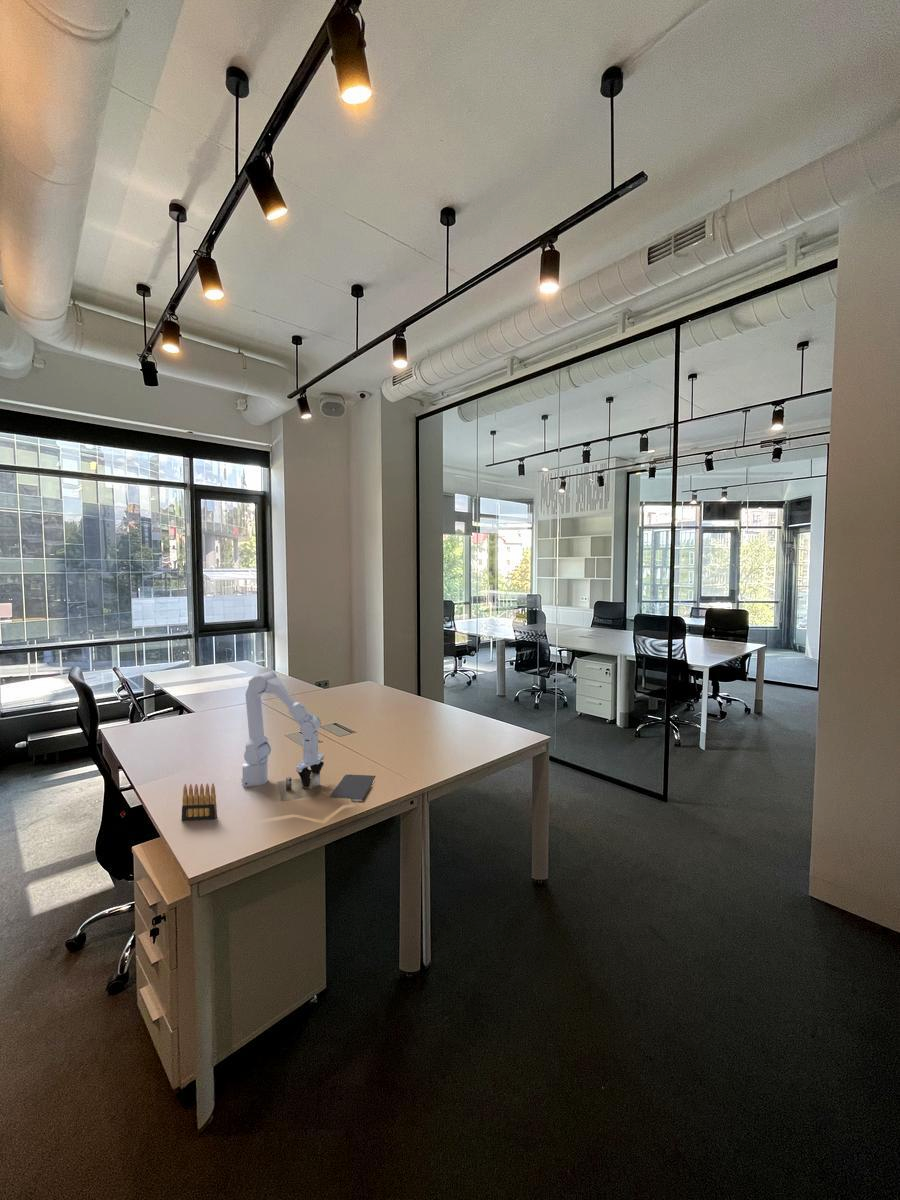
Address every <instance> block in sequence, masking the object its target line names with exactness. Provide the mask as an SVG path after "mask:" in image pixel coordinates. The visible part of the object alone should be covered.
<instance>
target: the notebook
mask: <svg viewBox="0 0 900 1200" xmlns="http://www.w3.org/2000/svg"><path fill="white" fill-rule="evenodd" d="M376 777H377V775H369V774H368V775H367V774H366V775H364V774H345V775H344V776H343V777H342V779H340V782H339V783H338V784H337V786H335V788H334V789H333V791H332V792H331V794H330V795H329V798H332V799H349V800H351V802H358V801H362V802H364V800H365V798H366V797H365V796H367V795H366V794H368V793H369V791H370V790H369V789H371V788H372V786H373V784H374V783H373V781H375V779H376ZM372 783H373V784H372ZM371 785H372V786H371ZM370 787H371V788H370ZM368 790H369V791H368ZM367 792H368V793H367Z"/></svg>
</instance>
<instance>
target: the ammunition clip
mask: <svg viewBox="0 0 900 1200" xmlns="http://www.w3.org/2000/svg"><path fill="white" fill-rule="evenodd" d="M216 799H217V795H216V787H215V784H214V783H213V782H212V784H211V788H210V786H209V783H206V785H205V788H204V784H203V783H201V784H200V787H199V786H198V783H196V784H195V786H194V789H193V785H192V783H190V785H189V787H188V786H187V784H186V783H185V784H184V786H183V790H182V806H181V819H180V820H181V822H185V821H188V822H192V821H206V820H207V821H209V820H216V819H217V817H218V809H217V807H218V806H217V800H216Z"/></svg>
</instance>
